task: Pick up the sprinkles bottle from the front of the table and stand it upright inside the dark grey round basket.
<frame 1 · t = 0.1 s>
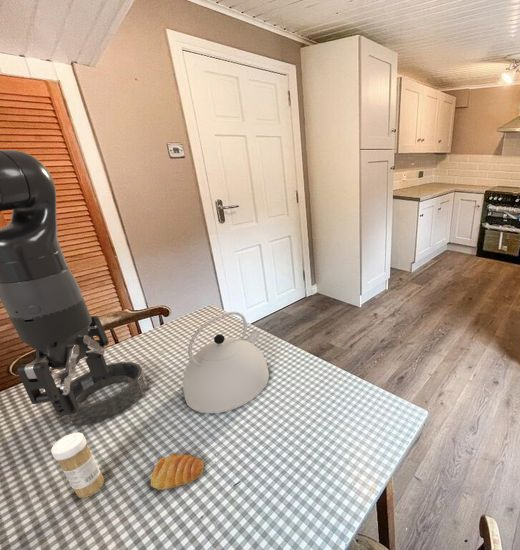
hand: (86, 392, 49), 28 cm above the table, tool pointing down, fingers open, 8 cm apart
sprinkles bottle: (92, 490, 61), on the table
pastry: (178, 475, 64), on the table
kettle: (232, 382, 90), on the table
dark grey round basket: (109, 400, 83), on the table
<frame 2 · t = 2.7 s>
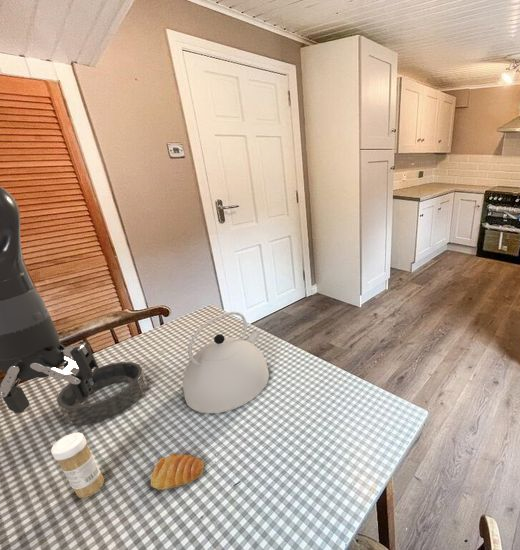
hand: (54, 403, 51), 24 cm above the table, tool pointing down, fingers open, 8 cm apart
nothing on the table moved.
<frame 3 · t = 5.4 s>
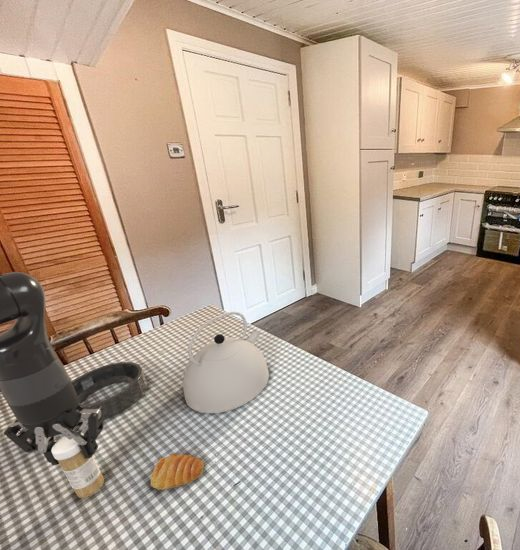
hand: (75, 457, 58), 9 cm above the table, tool pointing down, fingers closed on sprinkles bottle, 4 cm apart
sprinkles bottle: (92, 490, 61), on the table, touching gripper
everything else where it was.
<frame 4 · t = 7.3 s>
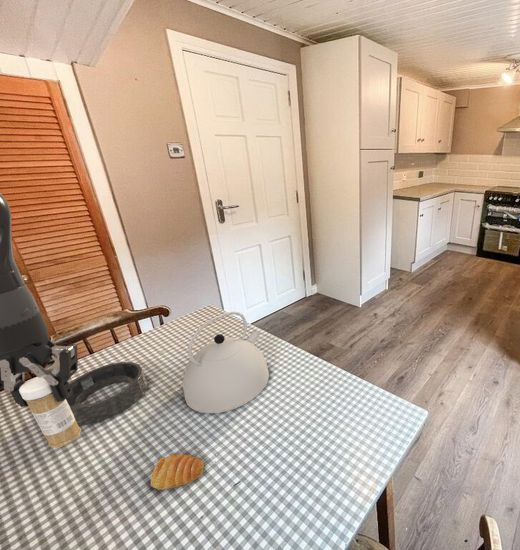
hand: (46, 400, 53), 23 cm above the table, tool pointing down, fingers closed on sprinkles bottle, 4 cm apart
sprinkles bottle: (66, 439, 57), point 13 cm above the table, touching gripper
everything else where it was.
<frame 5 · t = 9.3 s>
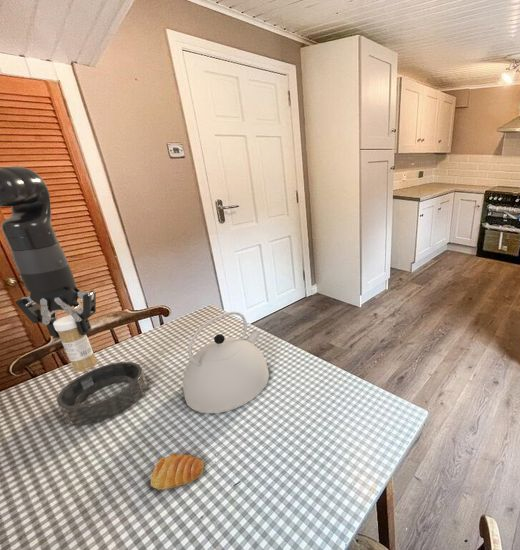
hand: (72, 334, 71), 24 cm above the table, tool pointing down, fingers closed on sprinkles bottle, 4 cm apart
sprinkles bottle: (86, 367, 74), point 14 cm above the table, touching gripper
everything else where it was.
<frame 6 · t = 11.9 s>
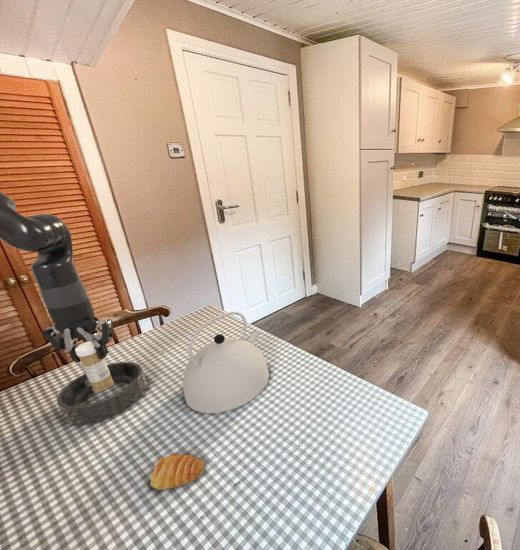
hand: (91, 358, 78), 14 cm above the table, tool pointing down, fingers closed on sprinkles bottle, 4 cm apart
sprinkles bottle: (103, 387, 82), point 4 cm above the table, touching gripper
everything else where it was.
when the fingers open (10 cm above the table, at t = 13.4 s): sprinkles bottle stays where it is, resting on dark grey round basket.
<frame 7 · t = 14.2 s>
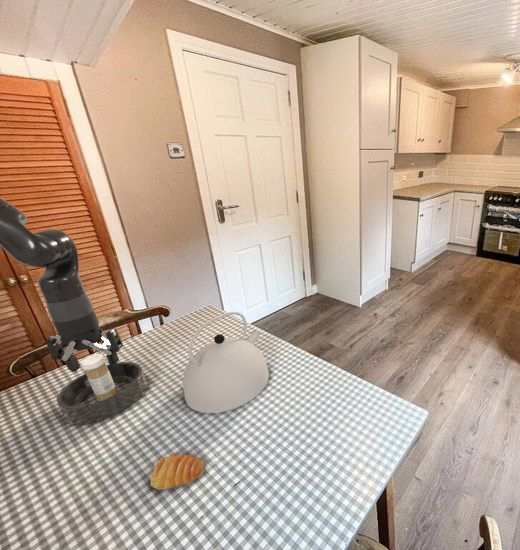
hand: (95, 367, 79), 11 cm above the table, tool pointing down, fingers open, 8 cm apart
sprinkles bottle: (108, 399, 83), resting on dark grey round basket
everything else where it was.
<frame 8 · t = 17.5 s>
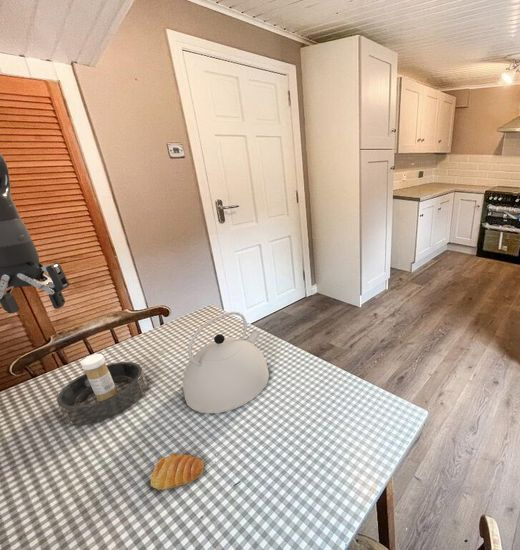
hand: (37, 309, 69), 30 cm above the table, tool pointing down, fingers open, 8 cm apart
nothing on the table moved.
at the end: sprinkles bottle inside the target area in the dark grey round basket (0.1 cm from its centre), point 0.3 cm above the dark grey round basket's base; sprinkles bottle tilted 0° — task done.
